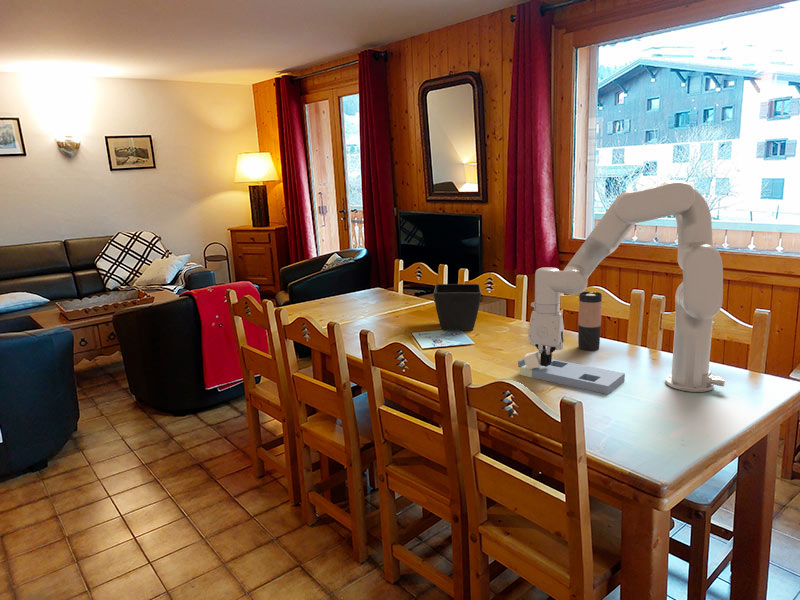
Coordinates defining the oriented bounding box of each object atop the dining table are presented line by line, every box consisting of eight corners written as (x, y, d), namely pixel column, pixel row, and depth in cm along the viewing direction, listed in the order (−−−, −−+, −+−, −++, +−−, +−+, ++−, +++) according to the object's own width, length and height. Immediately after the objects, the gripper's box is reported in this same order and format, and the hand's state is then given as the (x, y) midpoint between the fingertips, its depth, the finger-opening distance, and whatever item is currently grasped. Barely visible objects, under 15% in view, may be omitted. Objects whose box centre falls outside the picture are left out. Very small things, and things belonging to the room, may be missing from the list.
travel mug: (585, 352, 199) (587, 296, 195) (573, 346, 207) (574, 292, 202) (604, 349, 201) (606, 294, 197) (591, 343, 209) (593, 290, 204)
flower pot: (479, 320, 247) (479, 283, 243) (481, 332, 229) (481, 292, 225) (436, 321, 249) (435, 283, 245) (434, 333, 231) (433, 292, 227)
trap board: (624, 381, 171) (625, 366, 170) (607, 394, 162) (608, 379, 161) (537, 363, 190) (537, 350, 189) (518, 374, 180) (518, 361, 179)
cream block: (542, 362, 179) (538, 351, 178) (539, 366, 175) (535, 354, 175) (530, 365, 181) (526, 353, 180) (527, 369, 177) (523, 357, 177)
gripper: (519, 307, 175) (518, 363, 179) (564, 313, 166) (562, 373, 170) (531, 302, 181) (530, 357, 185) (575, 308, 171) (573, 366, 175)
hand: (545, 365), depth 177 cm, fingers closed
